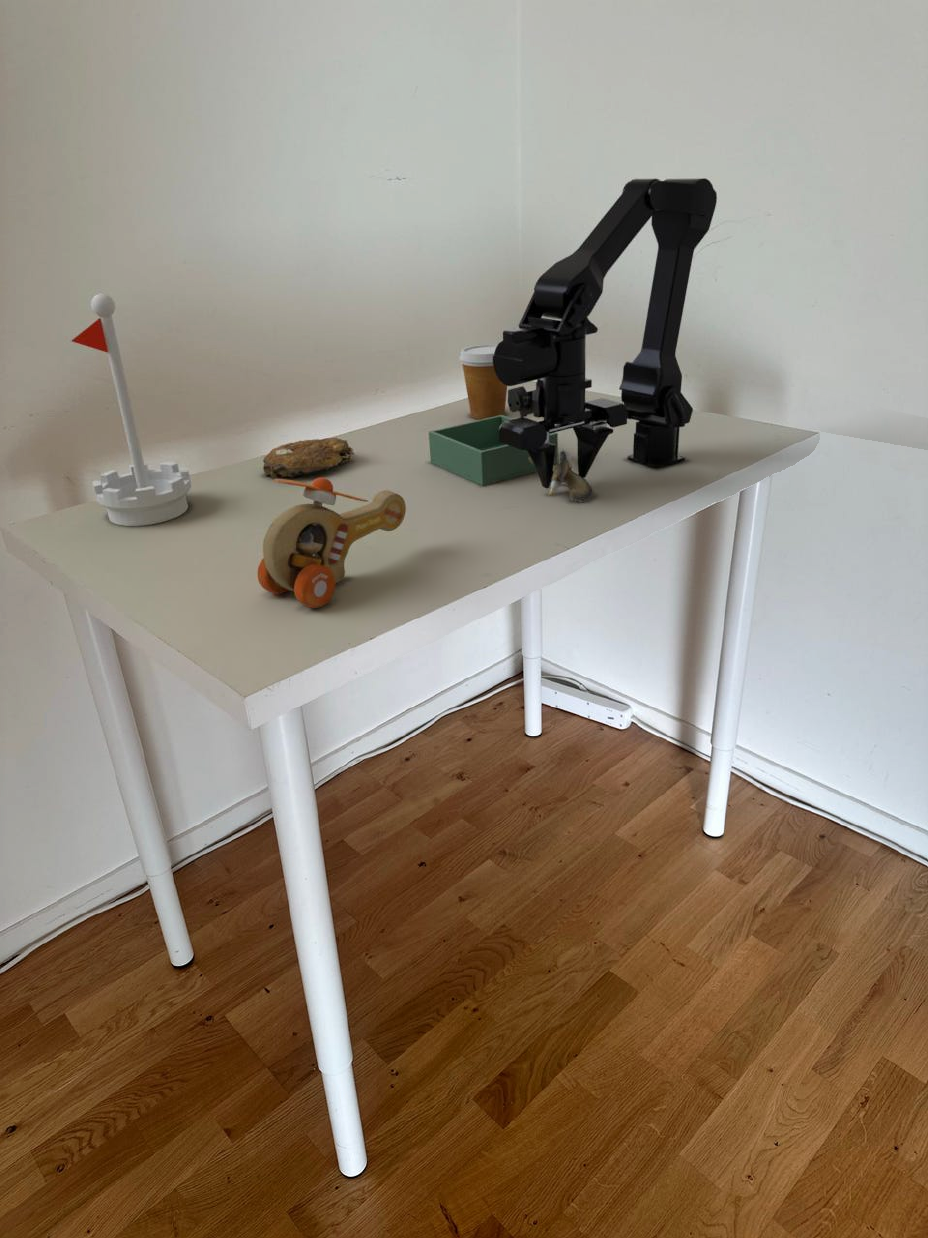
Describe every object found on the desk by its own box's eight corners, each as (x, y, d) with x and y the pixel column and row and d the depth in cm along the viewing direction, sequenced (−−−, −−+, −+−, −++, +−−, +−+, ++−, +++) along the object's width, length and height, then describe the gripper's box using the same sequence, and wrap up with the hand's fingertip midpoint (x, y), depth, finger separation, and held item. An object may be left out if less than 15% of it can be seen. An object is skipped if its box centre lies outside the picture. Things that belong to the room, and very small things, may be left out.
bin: (502, 444, 152) (501, 414, 150) (557, 465, 141) (557, 433, 139) (430, 462, 146) (428, 431, 143) (482, 485, 134) (481, 452, 132)
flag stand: (167, 490, 140) (124, 283, 126) (212, 508, 131) (171, 290, 117) (86, 514, 132) (30, 297, 118) (127, 536, 123) (72, 304, 109)
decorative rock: (329, 451, 155) (253, 476, 146) (324, 427, 153) (247, 452, 144) (369, 461, 147) (291, 488, 138) (365, 436, 145) (286, 462, 136)
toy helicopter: (252, 600, 104) (232, 485, 97) (380, 541, 117) (370, 437, 111) (299, 619, 99) (281, 499, 92) (427, 555, 112) (420, 447, 106)
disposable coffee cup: (514, 420, 165) (512, 353, 159) (461, 423, 165) (458, 355, 160) (512, 407, 173) (510, 342, 168) (462, 409, 174) (459, 345, 168)
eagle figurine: (518, 484, 131) (553, 489, 123) (535, 437, 131) (572, 440, 123) (557, 502, 135) (594, 509, 127) (575, 457, 135) (612, 461, 127)
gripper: (579, 352, 133) (578, 455, 140) (473, 373, 124) (478, 483, 131) (631, 363, 124) (628, 473, 132) (522, 387, 116) (524, 503, 123)
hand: (564, 482), depth 130 cm, fingers closed on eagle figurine, 6 cm apart
